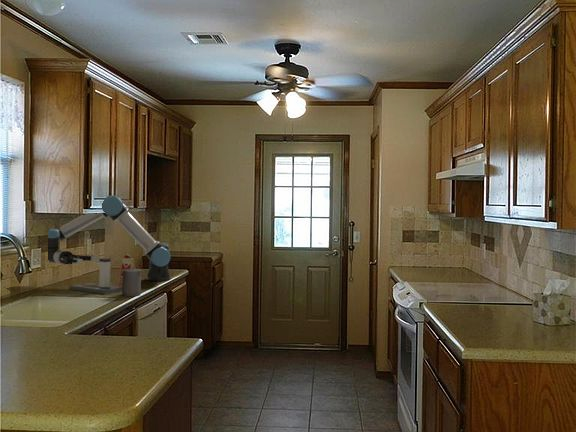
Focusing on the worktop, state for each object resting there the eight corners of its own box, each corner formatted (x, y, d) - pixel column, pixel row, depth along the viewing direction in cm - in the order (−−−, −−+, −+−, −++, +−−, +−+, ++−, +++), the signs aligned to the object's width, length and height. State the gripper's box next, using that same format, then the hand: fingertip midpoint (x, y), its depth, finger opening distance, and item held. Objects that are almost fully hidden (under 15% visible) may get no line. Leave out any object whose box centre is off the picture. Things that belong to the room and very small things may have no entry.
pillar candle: (119, 294, 308) (120, 266, 308) (136, 292, 314) (137, 265, 314) (126, 297, 301) (126, 269, 300) (143, 295, 307) (144, 268, 306)
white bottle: (98, 286, 314) (99, 258, 314) (104, 285, 318) (104, 258, 318) (104, 287, 313) (105, 259, 312) (110, 286, 316) (110, 258, 316)
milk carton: (132, 287, 330) (133, 253, 329) (117, 287, 330) (117, 253, 329) (137, 285, 339) (138, 252, 338) (122, 284, 339) (122, 251, 338)
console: (69, 289, 317) (69, 285, 317) (88, 286, 330) (88, 282, 330) (104, 294, 306) (104, 290, 306) (122, 290, 319) (122, 286, 319)
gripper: (79, 261, 340) (106, 265, 330) (46, 265, 317) (73, 269, 308) (80, 249, 339) (107, 252, 330) (46, 252, 317) (74, 255, 308)
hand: (91, 260), depth 319 cm, fingers open, 13 cm apart
